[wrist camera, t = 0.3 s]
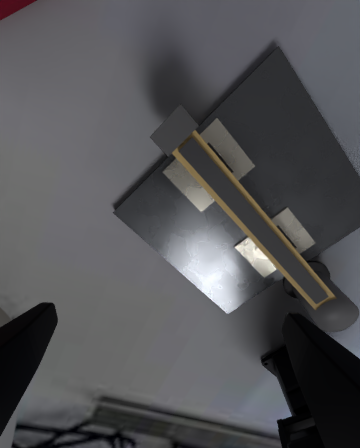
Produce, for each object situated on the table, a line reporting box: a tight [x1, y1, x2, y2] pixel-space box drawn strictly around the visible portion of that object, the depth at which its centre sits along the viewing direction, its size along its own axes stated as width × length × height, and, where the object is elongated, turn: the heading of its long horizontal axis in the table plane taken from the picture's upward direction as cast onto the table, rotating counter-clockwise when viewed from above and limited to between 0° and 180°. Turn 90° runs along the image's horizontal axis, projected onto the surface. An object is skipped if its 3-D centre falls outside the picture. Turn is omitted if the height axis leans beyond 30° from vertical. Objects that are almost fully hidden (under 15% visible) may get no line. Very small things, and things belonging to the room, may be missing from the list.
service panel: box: [113, 46, 360, 314], centre depth 21 cm, size 22×18×1 cm
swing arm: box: [150, 104, 359, 332], centre depth 18 cm, size 23×4×4 cm, turn 43°
